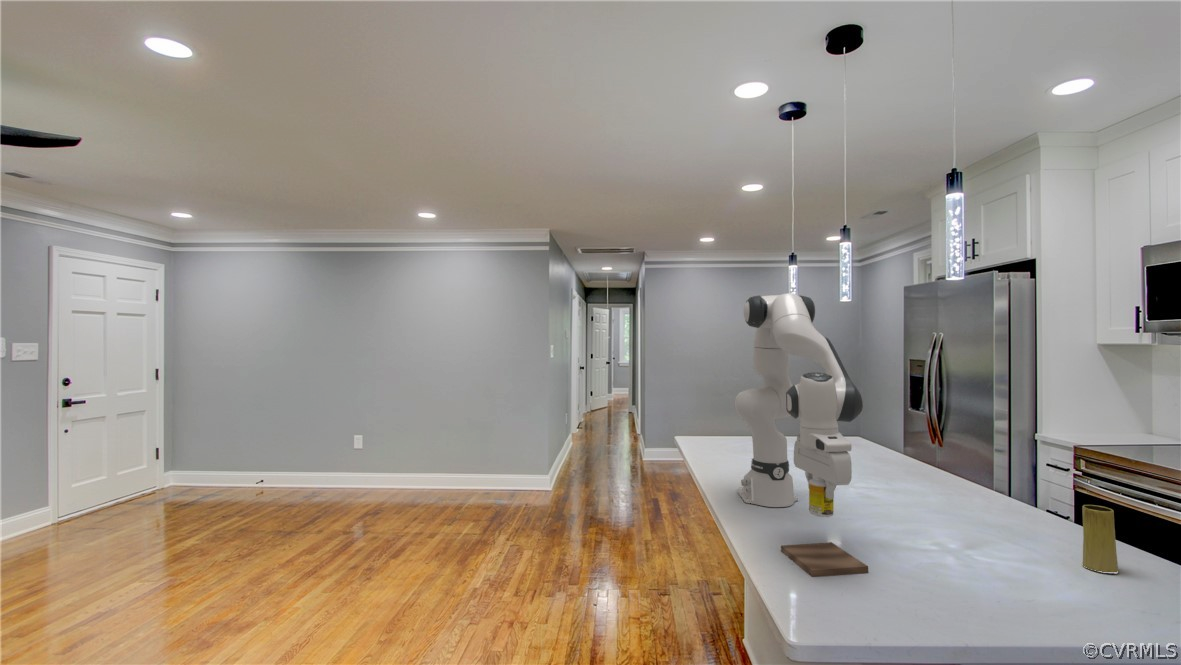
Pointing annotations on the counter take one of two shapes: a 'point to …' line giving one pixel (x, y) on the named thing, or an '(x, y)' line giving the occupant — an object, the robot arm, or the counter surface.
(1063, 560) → the counter surface
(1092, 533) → the vase
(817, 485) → the supplement bottle
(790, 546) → the walnut board
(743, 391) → the robot arm
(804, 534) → the counter surface
